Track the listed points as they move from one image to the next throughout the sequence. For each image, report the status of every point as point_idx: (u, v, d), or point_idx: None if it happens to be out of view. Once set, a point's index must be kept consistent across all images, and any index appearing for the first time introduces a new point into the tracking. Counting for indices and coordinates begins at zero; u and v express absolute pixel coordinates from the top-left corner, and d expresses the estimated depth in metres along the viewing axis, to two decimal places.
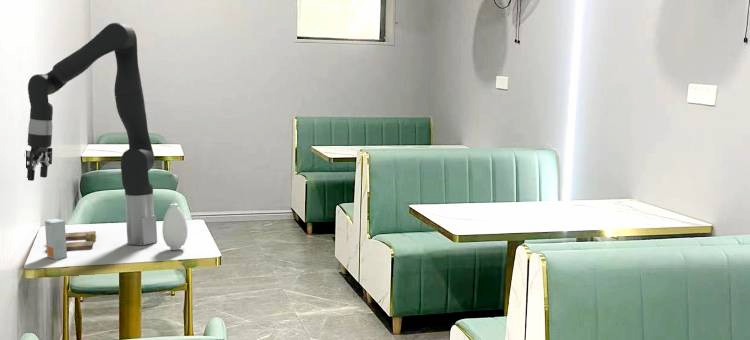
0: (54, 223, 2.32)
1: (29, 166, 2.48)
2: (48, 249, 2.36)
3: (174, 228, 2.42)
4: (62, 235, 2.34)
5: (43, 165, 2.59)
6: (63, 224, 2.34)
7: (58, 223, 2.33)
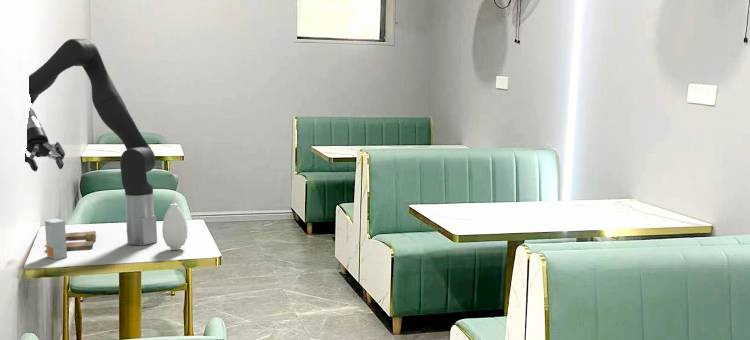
0: (54, 223, 2.32)
1: None
2: (48, 249, 2.36)
3: (174, 228, 2.42)
4: (62, 235, 2.34)
5: (56, 158, 2.54)
6: (63, 224, 2.34)
7: (58, 223, 2.33)
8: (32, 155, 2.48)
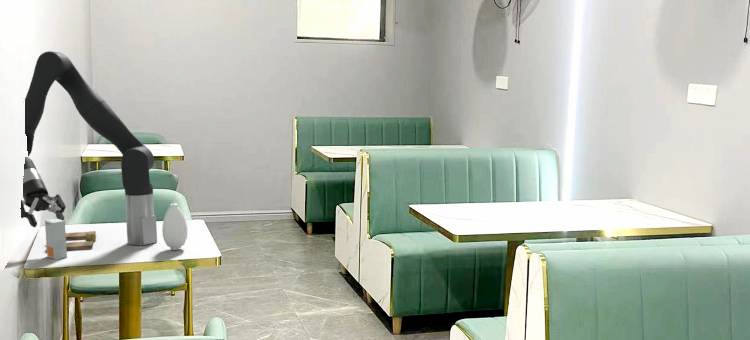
0: (54, 223, 2.32)
1: (21, 212, 2.35)
2: (48, 249, 2.36)
3: (174, 228, 2.42)
4: (62, 235, 2.34)
5: (56, 212, 2.43)
6: (63, 224, 2.34)
7: (58, 223, 2.33)
8: (31, 210, 2.37)
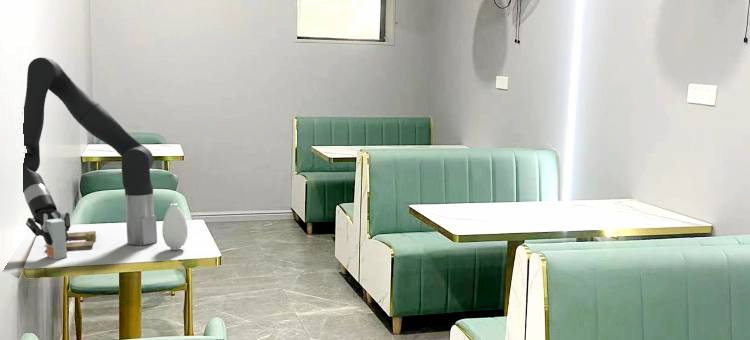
0: (54, 223, 2.32)
1: (36, 230, 2.33)
2: (48, 249, 2.36)
3: (174, 228, 2.42)
4: (62, 235, 2.34)
5: None
6: (63, 224, 2.34)
7: (58, 223, 2.33)
8: (45, 227, 2.34)
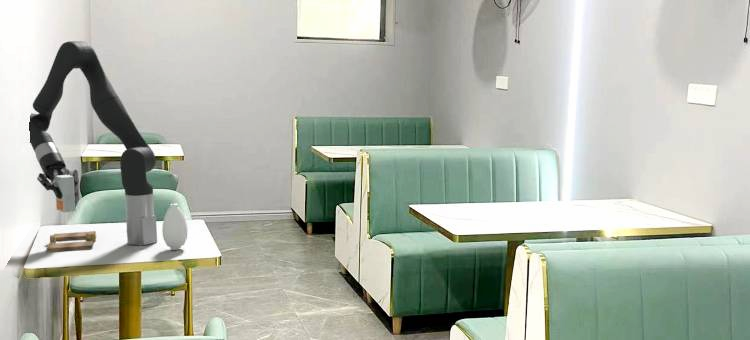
0: (64, 178, 2.48)
1: (47, 184, 2.48)
2: (58, 203, 2.52)
3: (174, 228, 2.42)
4: (71, 189, 2.50)
5: None
6: (72, 179, 2.50)
7: (68, 178, 2.49)
8: (55, 182, 2.50)
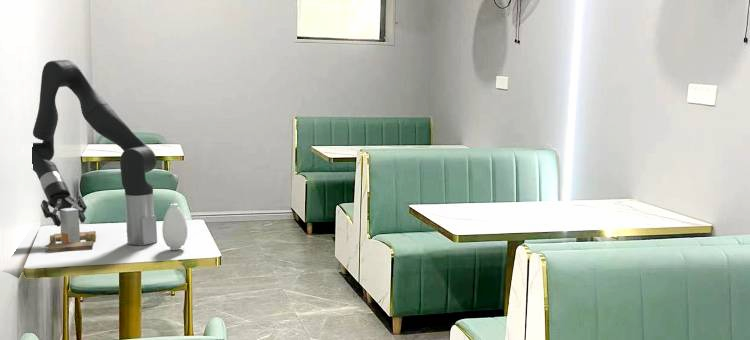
0: (69, 211, 2.53)
1: (46, 212, 2.52)
2: (63, 235, 2.56)
3: (174, 228, 2.42)
4: (76, 222, 2.55)
5: (78, 212, 2.60)
6: (77, 212, 2.55)
7: (72, 211, 2.54)
8: (55, 210, 2.54)
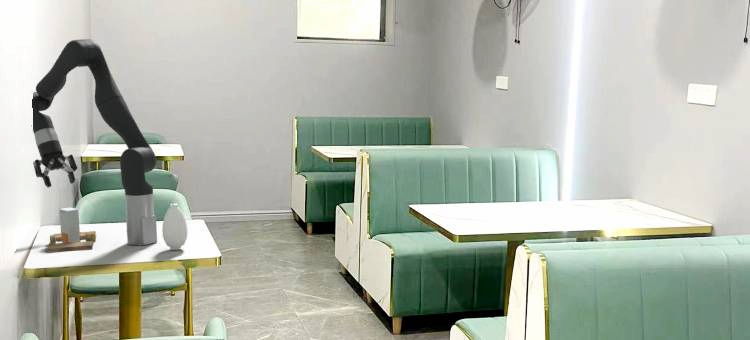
0: (69, 211, 2.53)
1: (38, 173, 2.60)
2: (63, 235, 2.56)
3: (174, 228, 2.42)
4: (76, 222, 2.55)
5: (68, 172, 2.69)
6: (77, 212, 2.55)
7: (72, 211, 2.54)
8: (47, 171, 2.62)
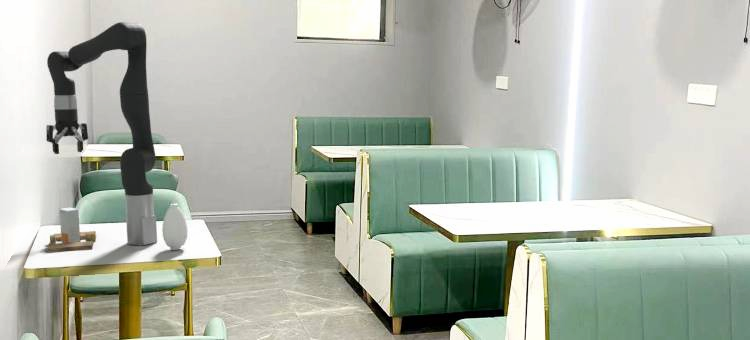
0: (69, 211, 2.53)
1: (49, 139, 2.60)
2: (63, 235, 2.56)
3: (174, 228, 2.42)
4: (76, 222, 2.55)
5: (78, 140, 2.69)
6: (77, 212, 2.55)
7: (72, 211, 2.54)
8: (58, 139, 2.62)
